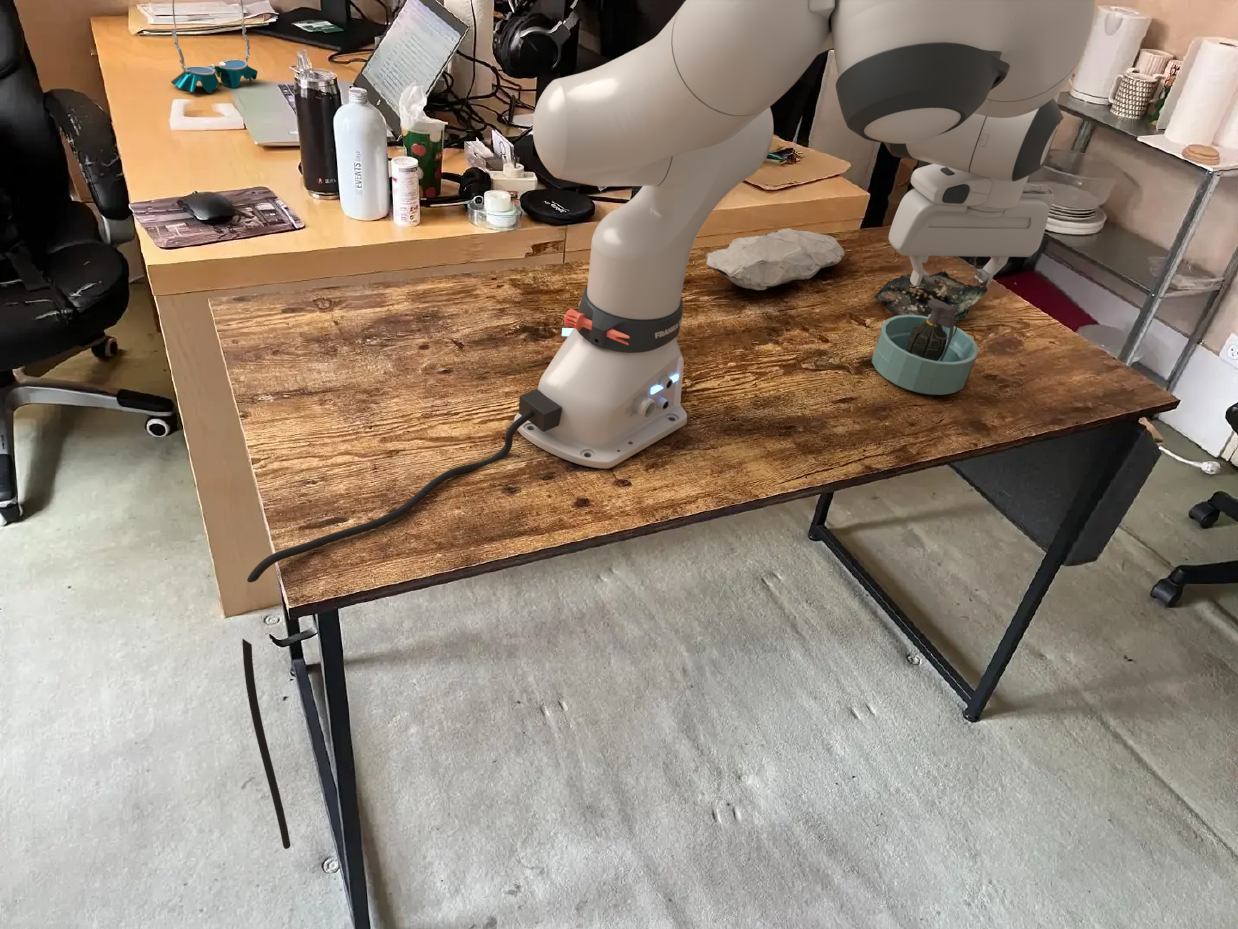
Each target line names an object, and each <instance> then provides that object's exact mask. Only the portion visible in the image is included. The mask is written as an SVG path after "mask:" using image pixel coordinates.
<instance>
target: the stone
mask: <svg viewBox="0 0 1238 929" xmlns="http://www.w3.org/2000/svg"><path fill="white" fill-rule="evenodd" d="M844 256H845V249H844V248H843V247H842V246H841V245H840V243H839V242H838V241H837V239H836V238H835V237H833V236H832V235H828V234H821V233H817V232H814V231H809V230H797V229H794V228H791V227H790V228H783V229H782V228H781V229H778V230H775V231H772V232H767V233H765V234H764V235H751V236H743V237H734V239H733V240H732V241H731V242H730V243H729V244H728V245H726V248H723V249H722V248H719V249H717V250H714V251H712V252H708V253H707V254H705V257H706V261H705V265H706V266H707V268H709V269H711V270H713V271H715V272H717V273H719V274H721V275H722V276H723V277H725V278H726V279H728V280H729V281H730V282H731V283H733V285H735V286H737V287H740V288H744V289H751V290H754V291H765V290H767V289H771V288H773V287H777V286H780V285H781V284H782V285H783V284H787V283H789V282H792V281H797V280H810V279H811V278H812V277H814V276H815V275H816V274H817V273H818V272H819V271H820V270H821V269H824V268H829V267H833V266H834V265H837V264H839V263H840V262H841V261H842V259H843V257H844Z"/></svg>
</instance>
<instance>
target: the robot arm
mask: <svg viewBox="0 0 1238 929" xmlns="http://www.w3.org/2000/svg"><path fill="white" fill-rule="evenodd" d="M1095 5H1096V0H685V1H683V3H682V5H680V7H679V8H678V10H677V11H676V13H675V14H674V15H673V16H672V17H671V19H670V20H669V21H668V22H667V23H666V24H665V25H664V27H663V28H662V30H660V32H658V34H657V35H656V36H654V38H652V39H650V40H649V41H647V42H645V43H644V44H642V45H639V46H638V47H636V48H634V49H632V50H630V51H628V52H626V53H624V54H623V55H621V56H618V57H616V58H615V59H612V60H610V61H608V62H606V63H604V64H602V65H600V66H597V67H595V68H592V69H588V70H586V71H582V72H579V73H575V74H571V75H567V76H564V77H559V78H555V79H553V80H552V81H551V82H550V83H549V84H547V86H546V87H545V89H544V90H543V92H542V93H541V95H540V97H539V99H538V101H537V103H536V106H535V109H534V113H533V117H532V136H533V143H534V144H533V145H534V147H535V150H536V153H537V155H538V157H539V160H540V161H541V163H542V165H543V166H544V167H545V169H546V170H547V171H548V172H549V174H550V175H551V176H553V177H554V178H556V179H558V180H563V181H568V182H572V183H576V184H582V185H587V186H588V185H589V186H593V187H594V186H595V187H641V188H640V189H639V191H638V192H637V193H636V194H635V195H634V196H633V197H632V198H630V200H629V201H627V202H626V203H624V204H622V205H621V206H619V207H617V208H615V209H613V210H612V211H610V212H609V213H607V214H606V215H605V216H603V218H602V219H601V220H600V221H599V222H598V224H597V226H596V227H595V229H594V232H593V234H592V236H591V245H590V255H589V267H588V277H587V285H586V286H585V288H584V290H583V293H582V296H581V298H580V300H579V302H578V306H577V307H578V309H577V310H575V309H573V308H569V309H568V310H566V313H565V315H564V317H563V324H564V326H565V327H562V328H561V329H562V330H561V336H562V337H566V338H565V340H564V341H563V343H562V344H561V345H560V347H559V349H558V350H557V352H556V354H555V355H554V356H553V358H552V359H551V361H550V363H549V364H548V366H547V367H546V369H545V371H544V372H543V374H542V375H541V377H540V379H539V382H538V386H537V388H535V389H532V390H530V391H528V392H525V393H523V394H520V395H519V400H518V412H517V413H516V415H515V416H514V420H513V422H512V424H511V425H510V426H509V427H508V429H507V431H506V432H505V435H504V436H505V437H504V444H503V447H502V448H501V449H500V450H499V451H497V453H496V454H495V455H493V456H491V457H489V458H487V459H485V460H482V461H478V462H473V463H468V464H465V465H460V466H457V467H454V468H451V469H448V470H447V471H445V472H442V473H440V475H438V476H436V477H435V478H433V479H432V480H431V481H429V482H428V483H427V484H426V485H424V487H422V488H421V489H420V490H418V492H417V493H416V494H414V495H413V497H411V498H410V499H409V500H407V501H405V503H404V504H402V505H401V506H399V507H397V508H396V509H394V510H392V511H390V512H389V513H387V514H385V515H382V516H381V517H378V518H375V519H373V520H371V521H367V522H365V523H362V524H359V525H355V526H352V527H349V528H345V529H342V530H338V531H335V532H332V533H329V534H325V535H323V536H320V537H318V538H315V539H313V540H310V541H307V542H304V543H302V544H298V545H295V546H291V547H288V548H285V549H281V550H279V551H277V552H274V553H272V554H270V555H269V556H267V557H265V558H264V559H262V560H261V561H260V562H258V564H257V565H256V566H255V567H254V568H253V569H252V570H251V572H250V574H249V575H248V577H247V579H246V581H247V583H255V582H256V581H258V580H259V578H260V577H261V576H262V575H263V573H264V572H265V571H266V570H268V568H270V567H271V566H273V565H274V564H276V563H278V562H279V561H282V560H285V559H288V558H291V557H295V556H298V555H301V554H304V553H307V552H310V551H312V550H314V549H318V548H320V547H323V546H325V545H328V544H331V543H334V542H336V541H340V540H343V539H347V538H350V537H354V536H356V535H360V534H363V533H366V532H370V531H373V530H375V529H378V528H381V527H382V526H385V525H387V524H389V523H391V522H393V521H395V520H397V519H398V518H400V517H402V516H403V515H405V514H406V513H408V512H409V511H411V510H412V509H414V507H416V506H417V505H418V504H419V503H420V502H422V501H423V499H424V498H426V497H427V496H428V495H430V493H432V491H434V490H435V489H436V488H437V487H439V486H440V485H441V484H443V483H445V482H446V481H448V480H449V479H452V478H453V477H456V476H459V475H462V474H466V473H470V472H472V471H475V470H478V469H480V468H483V467H484V466H487V465H489V464H493V463H495V462H498V461H501V459H503V458H505V457H506V456H507V454H509V452H510V451H511V450H512V447H513V438H514V435H515V433H516V432H518V433H519V434H520V435H521V436H522V437H523V438H524V439H525V440H527V441H528V442H530V443H531V444H533V445H534V446H536V447H538V448H539V449H541V450H543V451H546V452H548V453H549V454H551V455H554V456H557V457H558V458H560V459H562V460H565V461H568V462H571V463H574V464H577V465H580V466H583V467H589V468H596V469H610V468H614V467H616V466H617V465H619V464H621V463H622V462H624V461H626V460H627V459H629V458H631V457H633V456H634V455H636V454H638V453H639V452H641V451H642V450H644V449H646V448H648V447H650V446H651V445H653V444H655V443H656V442H658V441H660V440H662V439H663V438H666V437H667V436H668V435H670V434H672V433H674V432H675V431H678V430H679V429H681V428H683V427H684V426H686V425H687V423H688V413H687V411H686V410H685V409H684V408H683V406H682V405H681V399H682V388H683V381H684V380H683V378H684V366H685V360H684V356H683V353H682V351H681V349H680V345H679V342H678V338H677V336H678V335H679V333H680V330H681V324H682V321H683V316H684V311H683V310H684V301H683V298H682V293H683V288H684V284H685V278H686V273H687V269H688V265H689V262H690V257H691V253H692V249H693V247H694V244H695V241H696V239H697V237H698V235H699V233H700V231H701V229H702V227H703V226H704V224H705V222H706V221H707V219H708V218H709V216H710V215H711V213H712V212H713V211H714V209H716V207H717V206H718V205H719V203H720V202H721V201H723V199H724V198H725V197H726V196H727V195H728V194H729V193H730V192H731V191H732V190H733V189H735V188H736V187H737V186H739V185H740V184H741V183H743V182H744V181H745V180H747V179H749V178H750V177H752V176H754V175H755V173H757V172H758V171H759V169H760V168H761V167H762V165H763V164H764V163H765V161H766V159H767V157H768V155H769V153H770V150H771V147H772V143H773V138H774V131H775V130H774V129H775V128H774V117H773V111H772V109H771V106H773V105H774V104H775V103H776V102H777V101H778V100H779V99H781V98H782V97H783V96H784V95H785V94H786V93H787V92H788V91H789V90H790V89H791V88H792V87H793V86H794V85H795V84H796V83H797V82H798V81H799V79H800V78H801V77H802V76H803V75H804V73H805V72H806V71H807V70H808V68H809V67H810V66H811V64H812V63H813V62H814V60H815V59H816V58H817V56H818V55H820V54H822V53H825V52H827V51H828V50H832V49H833V54H834V59H835V66H836V71H837V76H838V78H837V79H836V82H835V91H836V96H837V100H838V104H839V108H840V112H841V114H842V118H843V120H844V122H845V124H846V127H847V129H849V130H850V131H851V132H853V133H854V134H856V135H857V136H859V137H861V138H862V139H865V140H867V141H869V142H875V143H883V144H884V145H885V147H886V148H887V151H888V152H889V153H890V155H891V156H893V157H896V158H901V159H908V160H912V161H920V162H921V161H922V162H925V163H929V164H928V165H925V166H921V167H918V168H916V169H915V170H914V171H913V172H912V174H911V177H910V184H911V185H912V187H913V188H912V189H911V190H909V191H908V192H906V193H905V194H904V195H903V197H902V199H901V201H900V203H899V205H898V207H897V210H896V212H895V215H894V218H893V220H892V223H891V226H890V229H889V232H888V241H889V244H890V246H891V248H892V249H894V251H895V252H897V253H898V255H900V256H903V257H909V260H910V263H911V268H912V272H911V274H910V275H911V278H910V282H911V283H912V284H913V285H914V286H925V285H926V284H927V280H928V278H929V276H930V273H929V272H927V271H926V270H925V269H924V266H923V264H927V263H928V260H929V257H985V258H987V257H988V258H989V257H990V259H989V260H988V262H987V263H986V264H985V265H984V266H983V268H977V269H976V271H975V276H973V283H974V284H976V286H980V287H983V286H985V287H989V286H990V285H991V283H992V281H993V278H994V276H995V275H996V274H997V273H998V272H999V271H1000V270H1002V268H1004V267H1005V266H1006V264H1007V263H1008V261H1009V258H1015V257H1016V258H1029V257H1032V256H1033V255H1034V254H1035V253H1036V252H1037V251H1038V250H1039V248H1040V246H1041V243H1042V241H1043V239H1044V234H1045V231H1046V227H1047V224H1048V219H1049V215H1050V214H1049V213H1050V210H1051V208H1052V206H1053V204H1054V201H1055V193H1054V192H1055V191H1054V190H1053V189H1052V188H1051V187H1050V185H1049V184H1048V183H1030V182H1028V180H1029V177H1030V176H1031V175H1032V174H1034V173H1036V172H1038V171H1040V170H1041V169H1043V168H1044V166H1045V165H1046V163H1047V161H1048V158H1049V154H1050V150H1051V148H1052V144H1053V141H1054V139H1055V136H1056V134H1057V131H1058V129H1059V128H1060V124H1061V122H1062V121H1063V120H1064V118H1065V117H1064V115H1063V114H1062V111H1061V108H1060V107H1059V105H1058V100H1059V97H1060V93H1061V91H1062V90H1063V89H1064V88H1065V86H1066V85H1067V84H1068V82H1069V81H1070V79H1071V78H1072V76H1073V75H1074V73H1075V71H1076V70H1077V68H1078V66H1079V64H1080V62H1081V60H1082V57H1083V55H1084V52H1085V50H1086V48H1087V44H1088V41H1089V39H1090V35H1091V32H1092V27H1093V21H1094V16H1095ZM241 641H242V642H241V644H242V645H241V646H242V660H243V672H244V678H245V687H246V693H247V700H248V706H249V709H250V715H251V719H252V724H253V728H254V733H255V736H256V742H257V745H258V748H259V752H260V756H261V760H262V761H261V762H262V764H263V767H264V772H265V775H266V780H267V782H268V787H269V791H270V794H271V798H272V802H273V806H274V809H275V814H276V818H277V824H278V828H279V831H280V837H281V842H282V847H283V849H284V850H288V849H290V848H291V845H292V844H291V839H290V834H289V830H288V829H289V828H288V824H287V820H286V816H285V812H284V807H283V806H284V805H283V802H282V798H281V795H280V790H279V789H280V788H279V786H278V782H277V777H276V774H275V770H274V766H273V762H272V758H271V755H270V750H269V746H268V742H267V737H266V734H265V729H264V724H263V720H262V715H261V709H260V705H259V701H258V699H259V698H258V693H257V688H256V681H255V672H254V670H255V669H254V661H253V644H252V643H250V642H249V641H247V640H246V639H244V638H242V640H241Z"/></svg>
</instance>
